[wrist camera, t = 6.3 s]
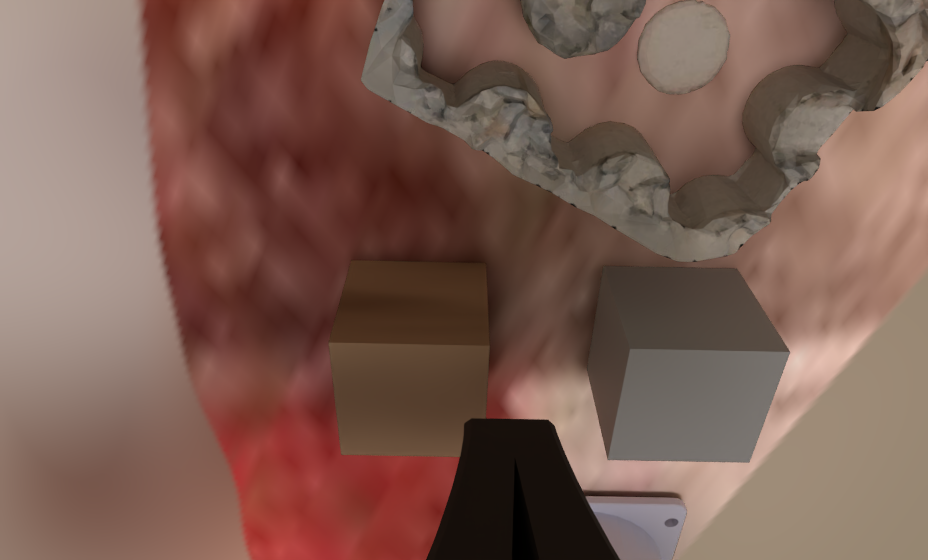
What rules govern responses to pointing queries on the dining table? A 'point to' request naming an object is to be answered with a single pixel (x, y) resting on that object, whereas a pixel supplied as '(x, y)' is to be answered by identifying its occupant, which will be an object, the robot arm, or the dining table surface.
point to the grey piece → (669, 71)
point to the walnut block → (410, 356)
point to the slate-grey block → (682, 364)
